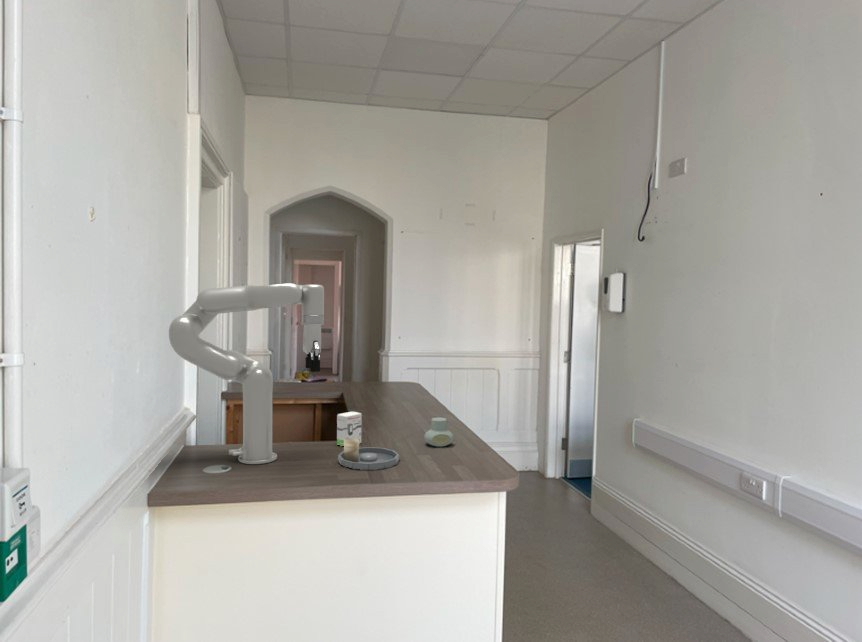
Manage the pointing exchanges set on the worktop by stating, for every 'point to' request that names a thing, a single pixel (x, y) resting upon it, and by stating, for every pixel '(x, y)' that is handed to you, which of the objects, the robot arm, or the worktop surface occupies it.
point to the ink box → (348, 427)
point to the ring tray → (371, 459)
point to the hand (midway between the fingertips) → (312, 369)
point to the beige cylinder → (351, 450)
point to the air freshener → (438, 433)
